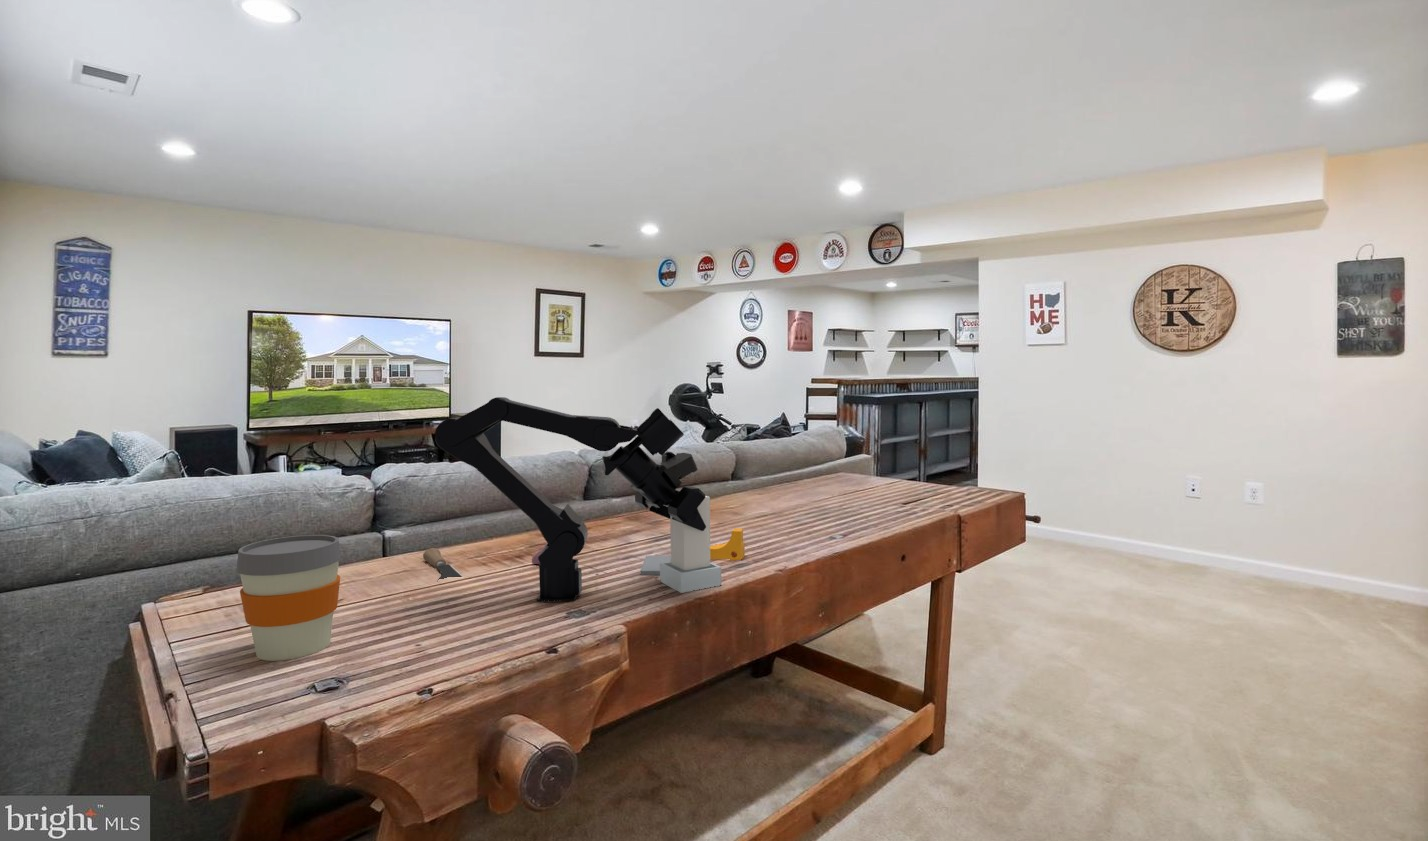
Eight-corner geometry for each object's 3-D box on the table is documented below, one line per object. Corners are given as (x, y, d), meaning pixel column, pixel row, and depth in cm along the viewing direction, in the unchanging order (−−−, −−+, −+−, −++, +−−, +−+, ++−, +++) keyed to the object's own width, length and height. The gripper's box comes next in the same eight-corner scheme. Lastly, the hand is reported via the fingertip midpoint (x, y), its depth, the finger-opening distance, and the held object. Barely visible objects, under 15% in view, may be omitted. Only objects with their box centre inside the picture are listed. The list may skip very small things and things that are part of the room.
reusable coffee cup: (358, 646, 94) (354, 542, 94) (254, 674, 85) (249, 560, 84) (327, 625, 103) (323, 530, 102) (229, 649, 94) (225, 545, 93)
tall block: (684, 570, 120) (683, 499, 119) (670, 563, 124) (670, 495, 124) (710, 566, 122) (709, 496, 122) (696, 559, 127) (695, 492, 127)
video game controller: (548, 573, 137) (563, 543, 137) (528, 563, 137) (543, 533, 137) (559, 560, 147) (573, 533, 147) (541, 551, 147) (554, 524, 147)
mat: (640, 575, 129) (640, 571, 129) (646, 559, 141) (646, 555, 141) (701, 574, 130) (701, 570, 130) (701, 558, 142) (701, 555, 141)
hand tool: (446, 584, 120) (412, 551, 140) (447, 600, 121) (413, 565, 140) (477, 578, 124) (439, 546, 144) (478, 593, 124) (440, 559, 144)
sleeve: (680, 593, 118) (680, 573, 118) (660, 581, 125) (659, 563, 125) (721, 585, 122) (721, 566, 122) (698, 574, 129) (698, 557, 129)
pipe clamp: (744, 556, 144) (744, 527, 144) (741, 561, 140) (740, 531, 139) (691, 554, 147) (691, 525, 146) (686, 558, 142) (686, 529, 142)
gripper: (694, 442, 112) (749, 500, 118) (648, 436, 128) (698, 487, 134) (653, 492, 109) (711, 549, 115) (611, 479, 125) (664, 530, 131)
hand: (696, 526), depth 124 cm, fingers closed on tall block, 5 cm apart
